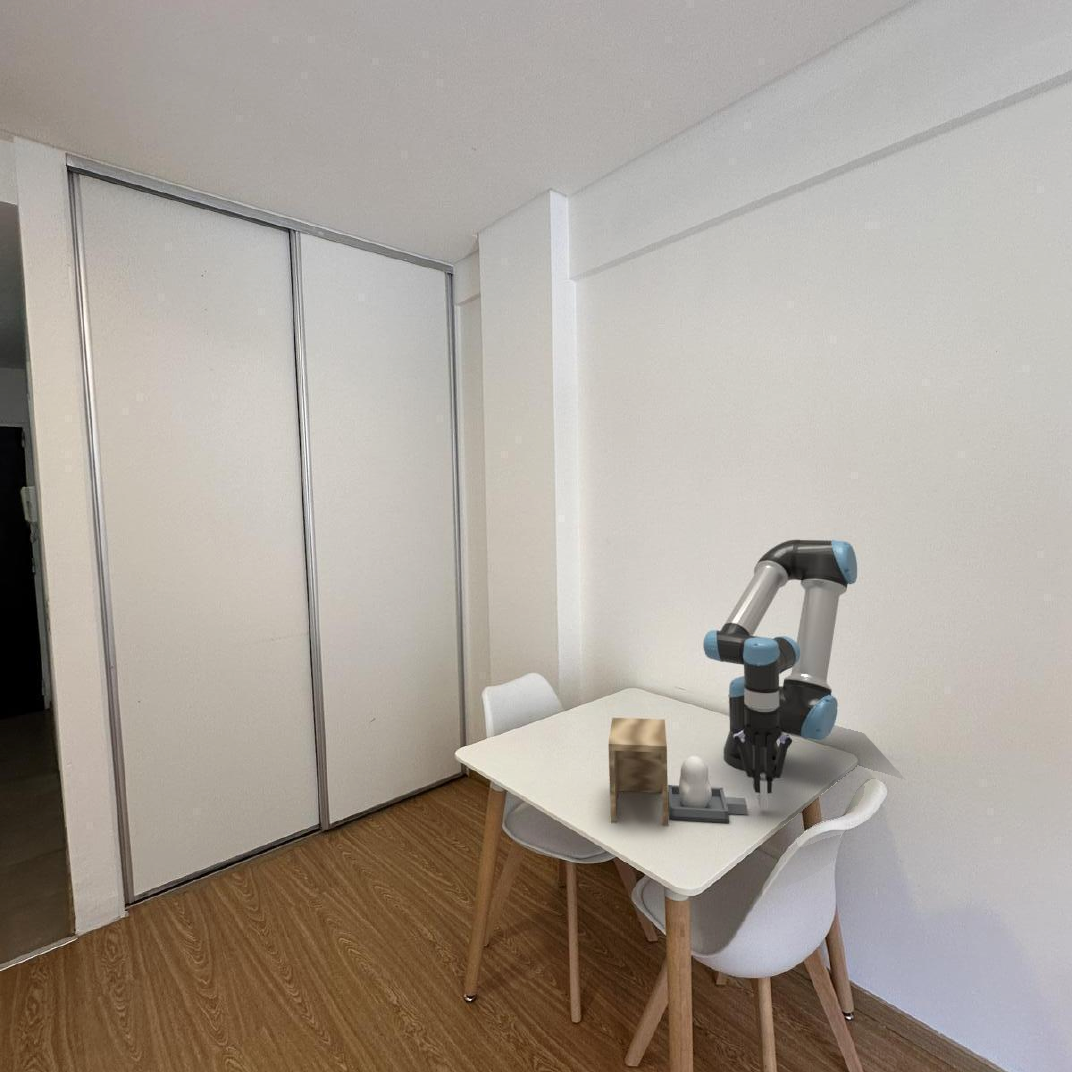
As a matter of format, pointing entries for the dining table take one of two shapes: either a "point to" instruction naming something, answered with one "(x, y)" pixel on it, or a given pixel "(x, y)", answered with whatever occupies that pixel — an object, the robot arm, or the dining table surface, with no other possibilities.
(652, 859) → the dining table surface
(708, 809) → the tray
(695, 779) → the figurine
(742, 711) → the robot arm
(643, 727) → the box
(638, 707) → the dining table surface
